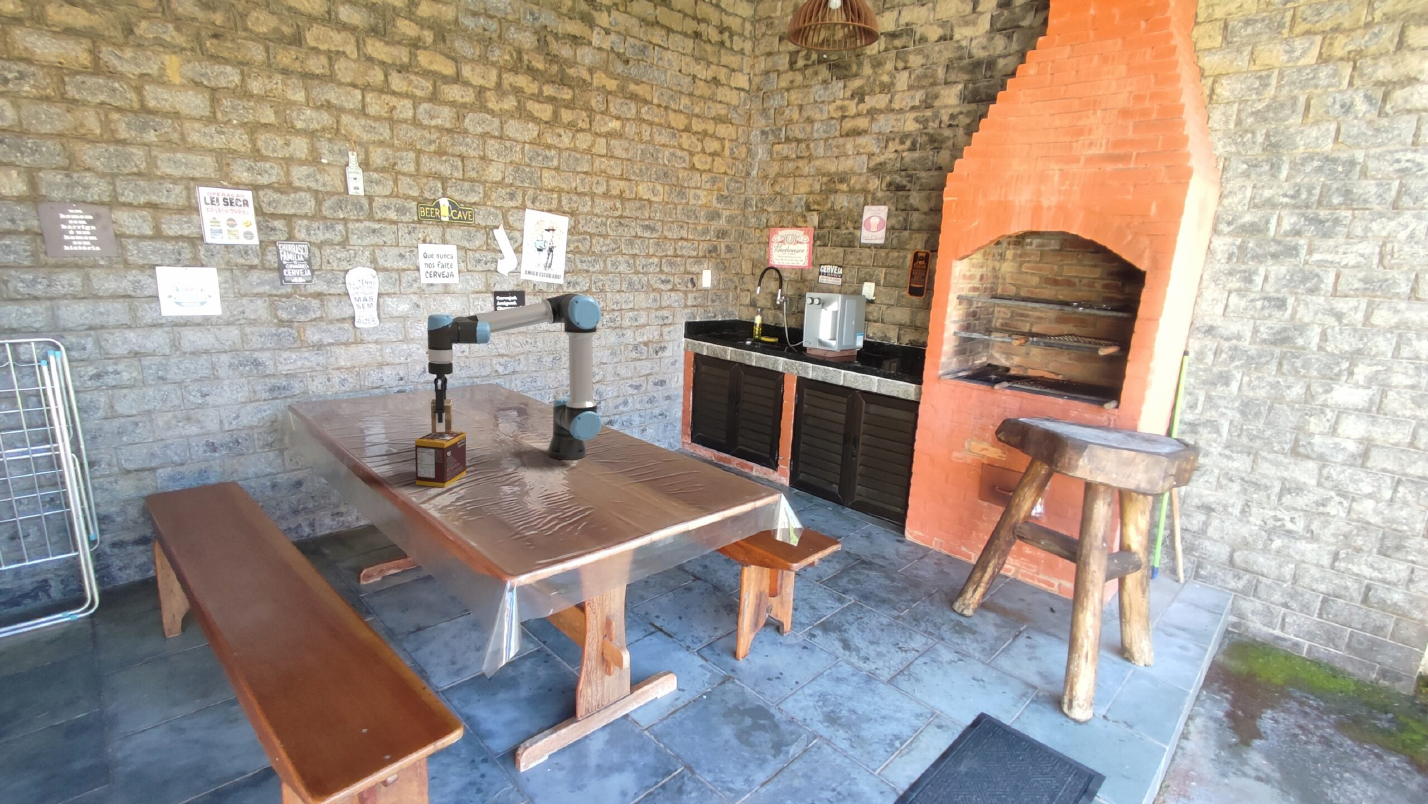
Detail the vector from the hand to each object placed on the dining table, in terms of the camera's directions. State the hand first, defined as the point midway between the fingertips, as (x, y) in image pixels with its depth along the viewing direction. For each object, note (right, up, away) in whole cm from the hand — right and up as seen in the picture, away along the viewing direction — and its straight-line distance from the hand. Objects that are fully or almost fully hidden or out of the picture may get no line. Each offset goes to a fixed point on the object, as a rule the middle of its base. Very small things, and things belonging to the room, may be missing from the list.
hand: (441, 429), depth 222 cm
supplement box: (-1, -18, +4) cm, 18 cm away
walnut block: (0, 0, 0) cm, 0 cm away
